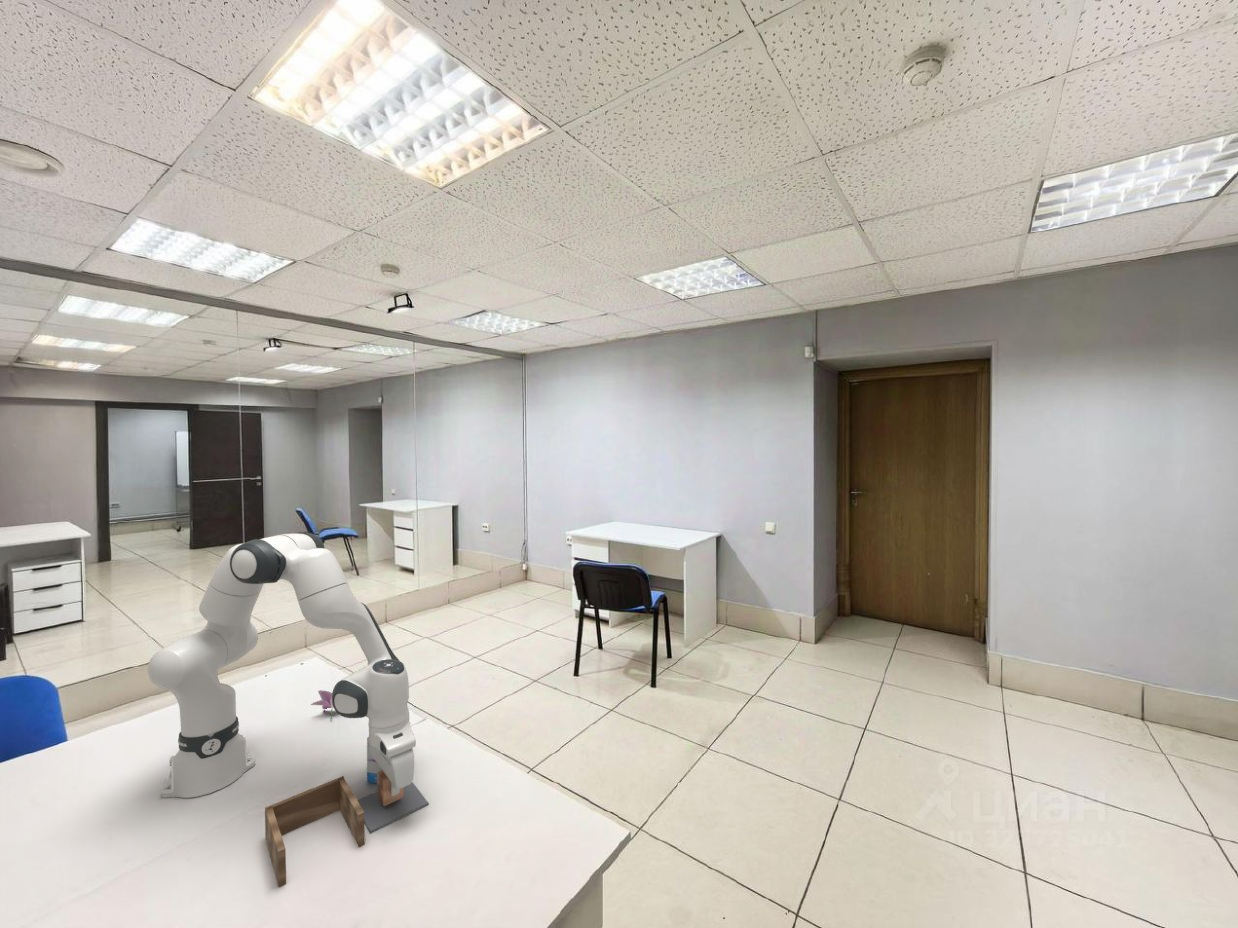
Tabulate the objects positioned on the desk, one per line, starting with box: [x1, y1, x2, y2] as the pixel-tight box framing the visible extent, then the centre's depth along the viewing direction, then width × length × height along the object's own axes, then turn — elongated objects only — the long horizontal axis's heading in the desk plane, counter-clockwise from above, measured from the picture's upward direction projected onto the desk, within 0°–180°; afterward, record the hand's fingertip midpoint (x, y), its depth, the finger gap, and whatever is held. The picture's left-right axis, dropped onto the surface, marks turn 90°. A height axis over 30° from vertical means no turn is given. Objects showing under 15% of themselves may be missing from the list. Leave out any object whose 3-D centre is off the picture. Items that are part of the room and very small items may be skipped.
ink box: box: [366, 736, 380, 784], centre depth 130 cm, size 9×5×12 cm, turn 168°
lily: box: [310, 689, 334, 720], centre depth 159 cm, size 12×12×10 cm
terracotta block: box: [376, 770, 404, 806], centre depth 118 cm, size 4×4×6 cm
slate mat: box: [357, 781, 430, 834], centre depth 119 cm, size 13×13×1 cm
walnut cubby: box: [264, 775, 366, 888], centre depth 107 cm, size 17×15×7 cm
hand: (390, 787), depth 118 cm, fingers closed on terracotta block, 4 cm apart
